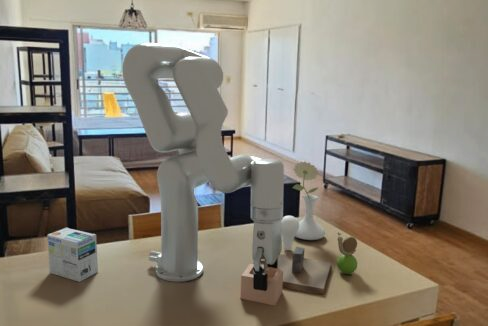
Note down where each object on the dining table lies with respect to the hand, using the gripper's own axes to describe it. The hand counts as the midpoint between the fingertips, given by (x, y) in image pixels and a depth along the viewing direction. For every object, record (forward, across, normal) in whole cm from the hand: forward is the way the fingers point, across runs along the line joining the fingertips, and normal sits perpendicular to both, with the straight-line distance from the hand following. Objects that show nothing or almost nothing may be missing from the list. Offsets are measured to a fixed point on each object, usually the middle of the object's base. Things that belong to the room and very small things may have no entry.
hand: (265, 280), depth 105 cm
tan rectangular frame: (+4, 0, +1) cm, 4 cm away
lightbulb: (+4, +29, +1) cm, 30 cm away
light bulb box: (+3, -7, +50) cm, 51 cm away
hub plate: (+4, +14, -5) cm, 16 cm away
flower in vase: (+4, +43, -2) cm, 43 cm away
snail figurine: (+5, +20, -17) cm, 27 cm away
